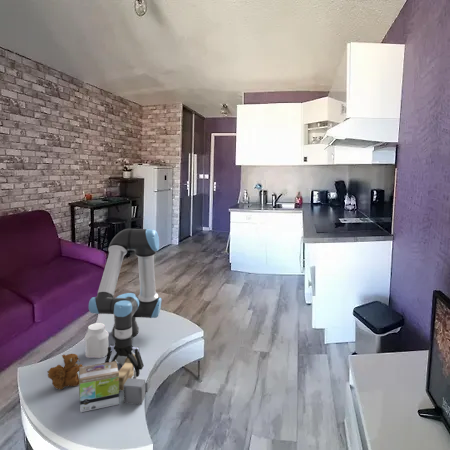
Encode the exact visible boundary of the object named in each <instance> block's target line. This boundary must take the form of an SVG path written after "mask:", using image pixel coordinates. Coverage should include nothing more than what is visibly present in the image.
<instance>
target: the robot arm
mask: <svg viewBox="0 0 450 450" xmlns="http://www.w3.org/2000/svg"><path fill="white" fill-rule="evenodd" d="M107 248H108V249H107V250H108V256H107V260H106V262H105V263H106V264H105V266H104V270H103V273H102V277H101V280H100V283H99V287H98V290H97V295H96V296H93V297H91V298H90V299H89V301H88V311H89V312H90V314H96V315H97V314H98V315H102V314H103V315H113V316H114V317H113V318H114V319H113V321H114V324H113V325H112V326H113V327H112V330H111V335H112V337H113V338H114V345H113V344H109V347H108V354H107V355H106V356H105V360H104V363H107V362H113V361H116V359H117V357H118V355H119V356H125V357H126V356H127V358H128V359H129V360H130V362H131V363H132V365H133V366H134V375H133V377H134V376H135V377H136V379H139V376H140V375H141V374H140V370H143V368H144V363H143V359H142V356H141V353H140V346H136V347H135V346H133V338H134V337H136V336H137V335H138V334H139V329H140V328H139V326H138V322H137V320H136V318H141V319H142V318H143V319H145V318H146V319H156V318H159V315H160V313H161V307H162V302H163V301H162V297H159V293H158V292H157V291H156V276H155V275H156V273H155V255H157V252H158V251H159V250H160V237H159V234H158V231H157V230H155V229H150V228H124V229H123V230H121V231H119V232H118V233H117V234H115V236H114V237H113V238H112V239H111V241H110V243H109V245H108V247H107ZM128 251H134V256H135V257H137V260H138V261H137V264H138V265H137V266H138V276H139V277H138V278H139V279H138V280H139V294H138V295H137V296H136V294H135V293H134V292H127V293H122V294H119V295H118V296H116V297H114V295H115V292H116V287H117V284H118V279H119V277H120V272H121V268H122V264H123V260H124V257H125V255H127V253H128ZM113 351H115V354H114V356H113V358H112V360H111V356H112V353H113ZM132 352H133V353H134V354H135V357H136V359H135V357H134V356H133V353H132ZM110 360H111V361H110ZM136 360H137V361H136Z"/></svg>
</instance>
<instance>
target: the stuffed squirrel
mask: <svg viewBox="0 0 450 450" xmlns="http://www.w3.org/2000/svg"><path fill="white" fill-rule="evenodd" d="M61 357H62V359H63V363H64V366H62V365H60V364H57V365H56V366H55V367H51V368H49V370H48V371H47V373H48V374H47V377H48V378H49V379H51V381H52V386H53V387H54V388H55V389H56V390H60V391H62V390H63V389H64V388H66V387H68V388H69V387H79V367H83V366H84V365H83V364H81V363H80V364H78V363H77V362H78V361H79V362H81V360H80V358H79V356H78V355H77V354H76V353H68V354H63V355H61Z"/></svg>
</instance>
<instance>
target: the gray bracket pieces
mask: <svg viewBox="0 0 450 450" xmlns="http://www.w3.org/2000/svg"><path fill="white" fill-rule="evenodd" d="M150 388H151V377H147V378H146V379H145V378H144V379H140V378H138V379H136V377H135V376H134V375H133V377H132V378H128V379H127V381H126V382H125V384H124V390H123V404H130V403H133V405H142V404H143V402H144V401H145V398H146V393H148V392H149V390H150Z"/></svg>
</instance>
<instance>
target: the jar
mask: <svg viewBox="0 0 450 450" xmlns="http://www.w3.org/2000/svg"><path fill="white" fill-rule="evenodd" d="M84 343H85V345H84V347H85V352H84V353H85V354H84V355H85V358H87V359H95V358H96V359H102V358H106V357H107V354H108V347H109V346H110V344H109V343H110V342H109V332H108V331H107V330H106V324H104V323H102V322H95V323H91V324H90V325H88V327H87V332H86V334H85V335H84Z"/></svg>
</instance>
